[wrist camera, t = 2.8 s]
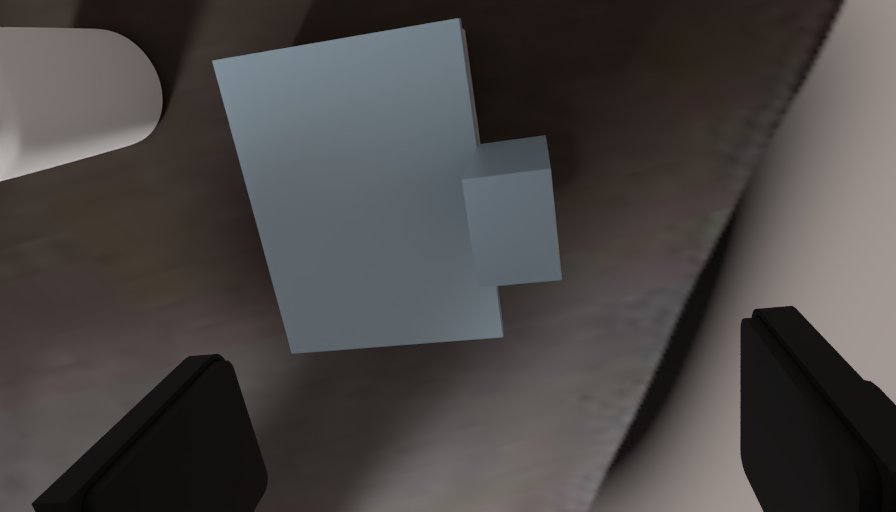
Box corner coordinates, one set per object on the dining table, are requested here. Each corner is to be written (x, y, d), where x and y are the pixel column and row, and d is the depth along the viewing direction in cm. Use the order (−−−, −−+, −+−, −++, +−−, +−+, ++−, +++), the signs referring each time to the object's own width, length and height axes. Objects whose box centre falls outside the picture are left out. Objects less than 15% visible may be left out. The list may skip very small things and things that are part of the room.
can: (40, 80, 35) (-192, 102, 24) (105, 2, 33) (-116, -14, 22) (122, 166, 36) (-62, 226, 25) (189, 97, 34) (22, 128, 23)
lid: (564, 319, 30) (574, 408, 23) (301, 340, 32) (237, 426, 25) (532, 6, 25) (533, -5, 18) (227, 59, 27) (122, 68, 20)
